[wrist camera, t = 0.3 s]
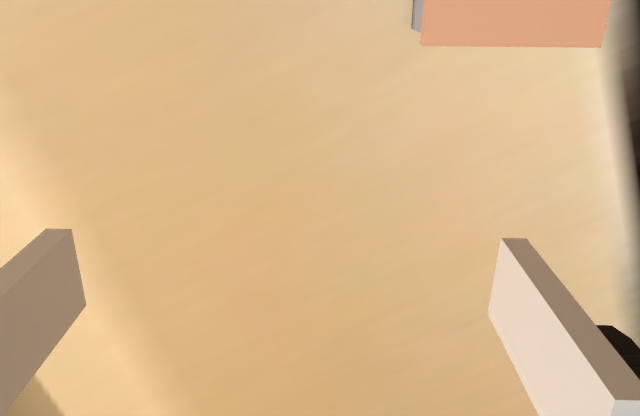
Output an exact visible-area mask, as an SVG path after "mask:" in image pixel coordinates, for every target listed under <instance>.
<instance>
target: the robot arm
mask: <svg viewBox="0 0 640 416" xmlns="http://www.w3.org/2000/svg"><path fill="white" fill-rule="evenodd" d="M85 306H86V301H85V296H84V291H83V286H82V281H81V276H80V270H79V265H78V260H77V255H76V250H75V245H74V240H73V235H72V229H45V230H44V231H43V232H42V233H41V234H40V235H39V236H37V237H36V238H35V239H34V240H33V241H32V242H30V243H29V244H28V245H27V246H26V247H25V248H24V249H22V250H21V251H20V252H19V253H18V254H17V255H15V256H14V257H13V258H12V259H11V260H10V261H9V262H7V263H6V264H5V265H4V266H3V267H2V268H0V416H4V414H5V412H7V410H8V409H9V408H10V406H11V405H12V404H13V402H14V401H15V400H16V398H17V397H18V395H19V394H20V393H21V392H22V390H23V389H24V388H25V386H26V385H27V384H28V382H29V381H30V379H31V378H32V377H33V376H34V374H35V373H36V372H37V370H38V369H39V368H40V366H41V365H42V364H43V362H44V361H45V360H46V358H47V357H48V356H49V354H50V353H51V352H52V350H53V349H54V348H55V346H56V345H57V344H58V342H59V341H60V340H61V338H62V337H63V336H64V334H65V333H66V332H67V330H68V329H69V328H70V326H71V325H72V324H73V322H74V321H75V320H76V318H77V317H78V315H79V314H80V313H81V311H82V310H83V309H84V307H85ZM488 315H489V317H490V319H491V321H492V323H493V325H494V327H495V329H496V331H497V333H498V335H499V337H500V339H501V341H502V343H503V345H504V347H505V349H506V351H507V353H508V355H509V357H510V359H511V361H512V363H513V365H514V367H515V369H516V371H517V373H518V375H519V377H520V379H521V381H522V383H523V385H524V387H525V389H526V391H527V393H528V395H529V397H530V399H531V401H532V403H533V405H534V407H535V409H536V411H537V413H538V415H539V416H640V348H639V347H638V346H637V345H636V344H635V343H634V342H633V340H632V339H631V338H629V337H628V336H626V335H625V334H623V333H622V332H620V331H619V330H617V329H616V328H614V327H613V326H607V325H595V324H594V322H593V321H592V320H591V319H590V317H589V316H588V315H587V314H586V312H585V311H584V310H583V309H582V307H581V306H580V305H579V304H578V302H577V301H576V300H575V299H574V297H573V296H572V295H571V294H570V292H569V291H568V290H567V289H566V287H565V286H564V285H563V284H562V282H561V281H560V280H559V279H558V278H557V276H556V275H555V274H554V273H553V271H552V270H551V269H550V268H549V266H548V265H547V264H546V263H545V261H544V260H543V259H542V258H541V256H540V255H539V254H538V253H537V251H536V250H535V249H534V248H533V246H532V245H531V244H530V243H529V241H528V240H527V239H520V238H501V242H500V248H499V253H498V259H497V264H496V270H495V276H494V281H493V287H492V292H491V298H490V303H489V309H488Z"/></svg>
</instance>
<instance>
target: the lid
mask: <svg viewBox="0 0 640 416" xmlns="http://www.w3.org/2000/svg"><path fill="white" fill-rule="evenodd" d="M610 4H611V0H424V3H423V15H422V27H421V40H420V44H421V45H422V46H489V47H585V48H601V45H602V41H603V36H604V32H605V27H606V22H607V18H608V13H609V8H610Z"/></svg>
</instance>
